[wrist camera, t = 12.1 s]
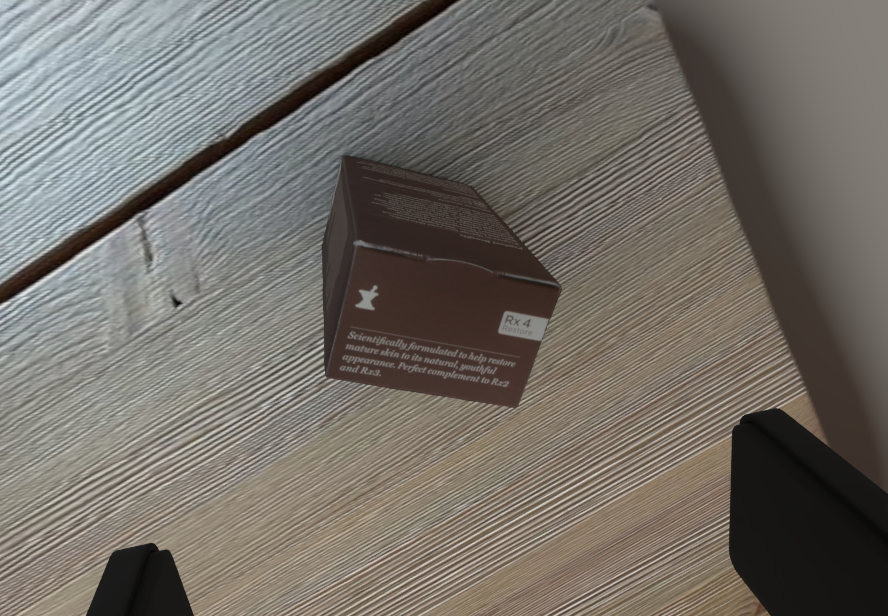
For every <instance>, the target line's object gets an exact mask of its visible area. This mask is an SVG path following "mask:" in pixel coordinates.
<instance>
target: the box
mask: <svg viewBox="0 0 888 616" xmlns="http://www.w3.org/2000/svg"><path fill="white" fill-rule="evenodd" d="M322 267H323V268H322V272H323V311H324V314H323V315H324V366H325V374H326V377H327V378H332V379H338V380H344V381H351V382H357V383H363V384H368V385H374V386H380V387H386V388H391V389H398V390H405V391H411V392H418V393H424V394H430V395H436V396H443V397H450V398H457V399H462V400H468V401H475V402H482V403H488V404H494V405H501V406H507V407H512V408H516V407H518V405H519V402H520V400H521V397H522V395H523V392H524V389H525V387H526V384H527V381H528V378H529V376H530V373H531V370H532V367H533V364H534V361H535V358H536V355H537V353H538V350H539V347H540V344H541V341H542V339H543V336H544V334H545V331H546V328H547V326H548V323H549V321H550V318H551V316H552V313H553V311H554V308H555V305H556V303H557V300H558V298H559V295H560V293H561V290H562V287H561V285H560V284H559V283H558V281H556V279H555V278H554V277H553V276H552V275H551V274H550V273H549V272H548V271H547V270H546V269H545V267H544V266H543V265H542V264H541V263H540V262H539V261H538V259H537V258H536V257H535V256H534V255H533V254H532V253H531V252H530V250H529V249H528V248H527V247H526V246H525V245H524V244H523V243H522V242H521V240H520V239H519V238H518V237H517V236H516V235H515V234H514V232H513V231H512V230H511V229H510V228H509V227H508V226H507V225H506V223H505V222H503V220H502V219H501V218H500V217H499V216H498V215H497V214H496V213H495V211H494V210H493V209H492V208H491V207H490V206H489V205H488V204H487V203H486V202H485V200H484V199H483V198H482V197H481V196H480V195H479V194H478V193H477V191H476V190H475V189H474V188H473V187H471V186H468V185H465V184H461V183H457V182H454V181H450V180H446V179H442V178H438V177H434V176H430V175H426V174H422V173H418V172H414V171H410V170H406V169H402V168H398V167H394V166H389V165H385V164H381V163H377V162H372V161H368V160H364V159H360V158H355V157H350V156H345V155H344V156H343V157H342V161H341V164H340V168H339V170H338V175H337V181H336V185H335V190H334V194H333V197H332V204H331V209H330V213H329V218H328V222H327V227H326V231H325V234H324V240H323V244H322Z"/></svg>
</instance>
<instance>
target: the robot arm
mask: <svg viewBox="0 0 888 616" xmlns="http://www.w3.org/2000/svg"><path fill="white" fill-rule="evenodd" d="M729 554H730V558H731V561H732V564H733V566H734V568H735V570H736V572H737V573H738V574H739V576H740V577H741V578H742V580H743V581H744V582H745V583H746V585H747V586H748V587H749V588H750V590H751V591H752V592H753V594H754V595H755V596H756V597H757V599H758V600H759V601H760V602H761V604H762V605H763V606H764V608H765V609H766V610H767V611H768V613H769V614H770V615H771V616H888V494H887V493H886V492H885V491H883V490H882V489H881V488H880V487H878V486H877V485H876V484H875V483H873V482H872V481H871V480H870V479H868V478H867V477H866V476H864V475H863V474H862V473H861V472H860V471H858V470H857V469H856V468H854V467H853V466H852V465H851V464H849V463H848V462H847V461H846V460H844V459H843V458H842V457H841V456H839V455H838V454H837V453H836V452H834V451H833V450H832V449H831V448H829V447H828V446H827V445H826V444H824V443H823V442H822V441H821V440H819V439H818V438H817V437H816V436H814V435H813V434H812V433H810V432H809V431H808V430H807V429H805V428H804V427H803V426H802V425H800V424H799V423H798V422H797V421H795V420H794V419H793V418H792V417H790V416H789V415H788V414H787V413H785V412H784V411H782V410H781V409H777V408H774V409H769V410H765V411H760V412H755V413H751V414H746V415H744V416H742V418H741V420H740V425H737V426H735V427H734V428H733V431H732V455H731V493H730V530H729ZM86 616H194V615H193V612H192V609H191V606H190V604H189V601H188V598H187V595H186V593H185V590H184V587H183V584H182V581H181V579H180V576H179V573H178V570H177V568H176V565H175V562H174V559H173V557H172V554H171V552H170V551H169V550H162V551H159V549H158V547H157V546H156V545H155V544H154V543H149V544H144V545H140V546H135V547H130V548H126V549H121V550H116V551H115V552H113V553H112V555H111V556H110V558H109V561H108V563H107V566H106V568H105V571H104V573H103V576H102V578H101V580H100V583H99V585H98V588H97V590H96V593H95V595H94V597H93V600H92V602H91V605H90V607H89V610H88V612H87V614H86Z"/></svg>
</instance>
